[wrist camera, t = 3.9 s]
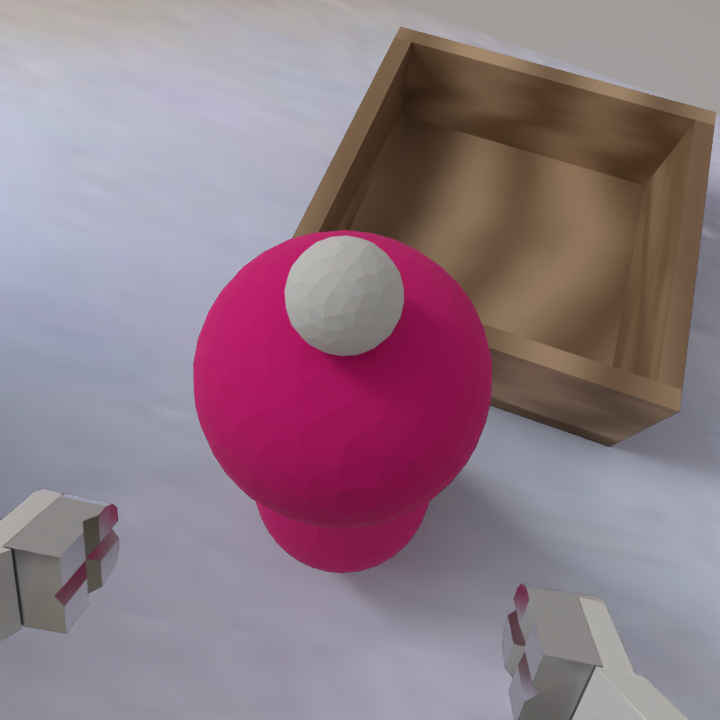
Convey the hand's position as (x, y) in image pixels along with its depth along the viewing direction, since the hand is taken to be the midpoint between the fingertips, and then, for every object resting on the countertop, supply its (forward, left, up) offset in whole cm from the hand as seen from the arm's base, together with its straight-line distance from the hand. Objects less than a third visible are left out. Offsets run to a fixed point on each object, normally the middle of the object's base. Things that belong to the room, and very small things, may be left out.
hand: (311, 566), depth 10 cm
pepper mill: (-1, +4, -15) cm, 15 cm away
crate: (+2, +20, -15) cm, 25 cm away
